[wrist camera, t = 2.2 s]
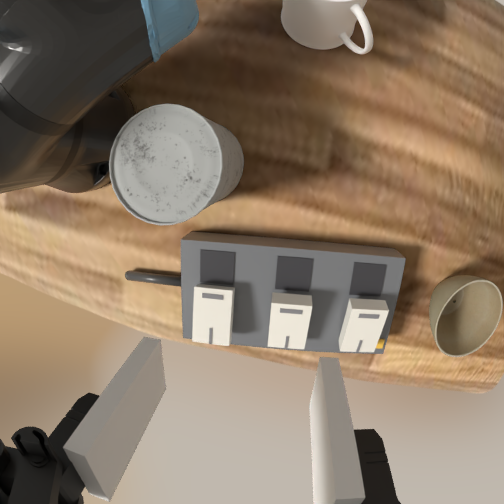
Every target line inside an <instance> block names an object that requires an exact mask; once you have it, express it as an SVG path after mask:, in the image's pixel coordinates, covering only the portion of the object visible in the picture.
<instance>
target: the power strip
mask: <svg viewBox="0 0 504 504" xmlns="http://www.w3.org/2000/svg"><path fill="white" fill-rule="evenodd" d="M405 260H406V258H405V257H404V256H403V255H402V254H400V253H399V252H398V251H397V250H396V249H395V248H385V247H375V246H364V245H353V244H342V243H330V242H319V241H307V240H296V239H284V238H271V237H259V236H246V235H233V234H220V233H207V232H193V231H191V232H190V233H189V234H187V235H186V236H185V237H183V238H182V239H181V276H172V275H163V274H154V273H145V272H136V271H127V272H126V273H125V278H126V279H127V280H132V281H139V282H147V283H155V284H164V285H172V286H181V293H182V322H183V338H187V339H192V329H193V302H194V287H195V286H196V285H198V284H205V285H214V286H224V287H235V295H234V310H233V325H232V340H231V343H230V344H234V345H243V346H253V347H263V348H274V349H285V348H278V347H267V346H268V336H269V325H270V314H271V303H272V293H273V292H275V293H287V294H299V295H312V312H311V317H310V322H309V328H308V333H307V338H306V343H305V348H304V349H290V348H287V349H286V350H300V351H316V352H337V353H358V352H343V351H340V348H339V337H340V333H341V329H342V326H343V322H344V318H345V314H346V310H347V306H348V302H349V298H356V299H373V300H385V301H386V304H387V306H388V309H389V312H388V315H387V318H386V321H385V324H384V327H383V329H382V332H381V335H380V338H379V340H378V343H377V346H376V348H375V351H374V352H359V353H369V354H383V352H384V349H385V345H386V342H387V338H388V335H389V331H390V327H391V323H392V319H393V315H394V311H395V307H396V303H397V299H398V294H399V290H400V285H401V280H402V276H403V271H404V266H405Z"/></svg>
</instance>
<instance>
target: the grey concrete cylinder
mask: <svg viewBox="0 0 504 504" xmlns="http://www.w3.org/2000/svg"><path fill="white" fill-rule="evenodd" d="M243 167H244V156H243V152H242V148H241V146H240V144H239V142H238V140H237V138H236V137H235V136H234V135H233V134H232V133H231V131H229V130H228V129H226V128H225V127H223V126H222V125H219V124H216V123H215V122H213V121H211V120H209V119H207V118H205V117H203V116H202V115H200V114H199V113H197V112H196V111H194V110H193V109H191V108H188V107H185V106H182V105H178V104H167V103H166V104H159V105H153V106H151V107H148V108H146V109H144V110H141V111H140V112H138V113H137V114H136V115H134V116H133V117H131V118H130V119H129V120H128V121H127V122H126V124H125V125H124V126H123V127H122V128H121V130H120V131H119V133H118V135H117V136H116V138H115V141H114V143H113V146H112V149H111V153H110V161H109V171H110V179H111V183H112V187H113V190H114V192H115V194H116V196H117V198H118V200H119V201H120V202H121V203H122V205H123V206H124V207H125V208H126V210H128V211H129V212H130V213H131V214H133V215H134V216H135V217H137V218H139V219H141V220H143V221H145V222H147V223H151V224H156V225H174V224H177V223H181V222H185V221H187V220H188V219H190V218H192V217H194V216H196V215H197V214H198V213H200V212H201V211H202V210H203V209H205V208H207V207H208V206H210V205H212V204H213V203H215V202H218V201H220V200H221V199H223V198H225V197H226V196H228V195H229V194H230V193H231V192H232V191H233V190H234V189H235V187H236V186H237V185H238V183H239V181H240V178H241V176H242V173H243Z"/></svg>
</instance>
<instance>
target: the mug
mask: <svg viewBox="0 0 504 504" xmlns="http://www.w3.org/2000/svg"><path fill="white" fill-rule="evenodd" d="M366 2H367V0H283V8H282V11H281V22H282V25H283V27H284V29H285V31H286V32H287V34H288V35H289V36H290V37H291V38H292V39H293V40H295V41H296V42H298V43H299V44H301V45H304V46H306V47H309V48H313V49H321V50H324V49H332V48H336V47H338V46H341V45H342V44H345V45H346V46H347V47H348V48H349V49H351V50H352V51H354V52H355V53H358V54H366V53H368V52H369V51H370V50H371V49H372V47H373V34H372V30H371V27H370V24H369V21H368V19H367V17H366V15H365V13H364V11H363V8H364V6H365V4H366ZM357 19H358V21H359V23H360V25H361V27H362V30H363V33H364V37H365V48H364V49H363V48H360V47H358V46H357V45H356V44H355V43H353V42H352V41H351V39H350V37H351V36H352V34H353V31H354V27H355V23H356V21H357Z"/></svg>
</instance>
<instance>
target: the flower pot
mask: <svg viewBox="0 0 504 504" xmlns="http://www.w3.org/2000/svg"><path fill="white" fill-rule="evenodd" d="M454 300H455V301H454ZM502 308H503V301H502V295H501V293H500V290H499V289H498V287H497V286H496V285H495V284H494V283H492V282H491V281H489V280H486V279H484V278H481V277H477V276H471V275H459V276H453V277H450V278H447V279H445V280H443V281H442V282H440V283H439V284H438V285H437V286H436V288H435V289H434V291H433V293H432V296H431V300H430V306H429V318H430V326H431V330H432V334H433V337H434V340H435V342H436V344H437V346H438V348H439V349H440V351H441V352H443V353H444V354H445V355H448V356H451V357H462V356H466V355H468V354H471V353H473V352H475V351H476V350H478V349H479V348H480V347H482V346H483V345H484V344H485V343H486V342H487V341H488V340H489V338H490V337H491V336H492V334H493V333H494V331H495V330H496V328H497V326H498V324H499V321H500V318H501V314H502Z"/></svg>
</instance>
